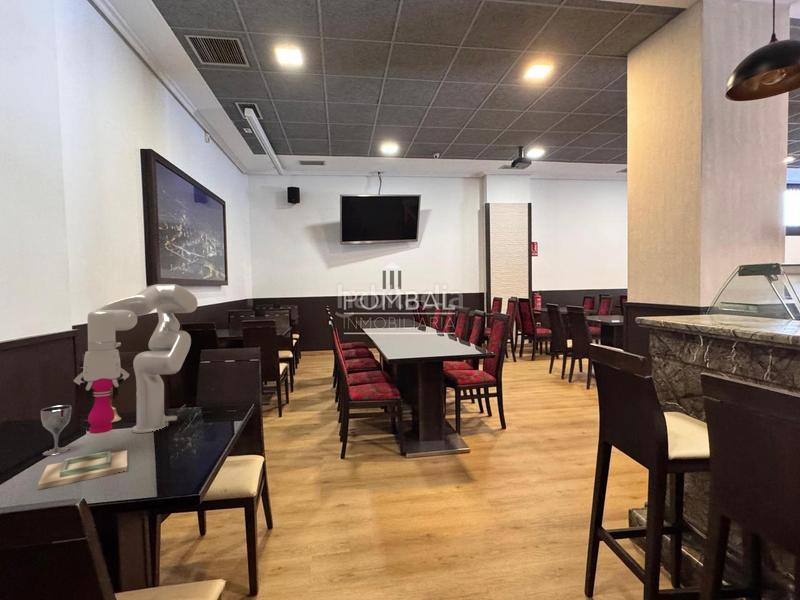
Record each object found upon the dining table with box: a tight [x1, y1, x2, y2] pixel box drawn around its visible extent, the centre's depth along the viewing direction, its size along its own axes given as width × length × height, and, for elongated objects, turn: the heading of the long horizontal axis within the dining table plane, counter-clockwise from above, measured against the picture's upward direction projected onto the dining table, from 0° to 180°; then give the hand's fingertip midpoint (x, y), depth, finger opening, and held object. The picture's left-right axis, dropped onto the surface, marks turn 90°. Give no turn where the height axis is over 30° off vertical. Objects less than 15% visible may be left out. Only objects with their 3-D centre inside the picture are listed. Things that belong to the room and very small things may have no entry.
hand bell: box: [110, 387, 122, 424], centre depth 170 cm, size 8×8×16 cm
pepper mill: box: [87, 378, 114, 435], centre depth 132 cm, size 7×7×20 cm
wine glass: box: [40, 404, 72, 456], centre depth 134 cm, size 8×8×15 cm
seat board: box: [37, 450, 128, 491], centre depth 118 cm, size 20×16×3 cm
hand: (102, 398), depth 132 cm, fingers closed on pepper mill, 5 cm apart
